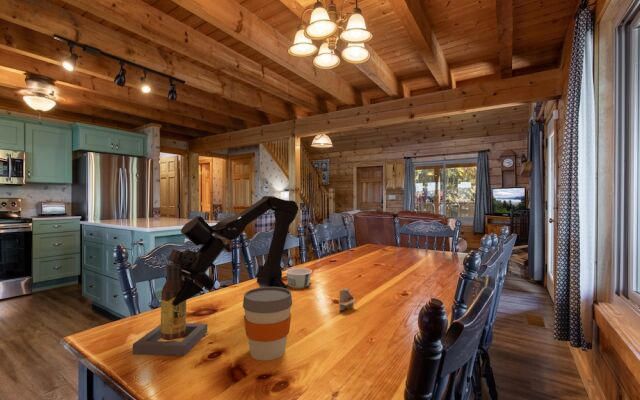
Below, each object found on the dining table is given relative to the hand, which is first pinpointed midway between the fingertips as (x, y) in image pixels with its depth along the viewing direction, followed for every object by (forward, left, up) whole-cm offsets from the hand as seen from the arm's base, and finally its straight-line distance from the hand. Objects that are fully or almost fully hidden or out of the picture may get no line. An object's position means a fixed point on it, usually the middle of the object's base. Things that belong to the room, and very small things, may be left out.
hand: (168, 302), depth 84 cm
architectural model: (-48, -30, -12) cm, 58 cm away
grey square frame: (-1, -1, -11) cm, 11 cm away
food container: (-28, -58, -12) cm, 65 cm away
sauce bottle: (-1, -1, -10) cm, 10 cm away
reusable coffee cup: (-28, +2, -12) cm, 30 cm away
